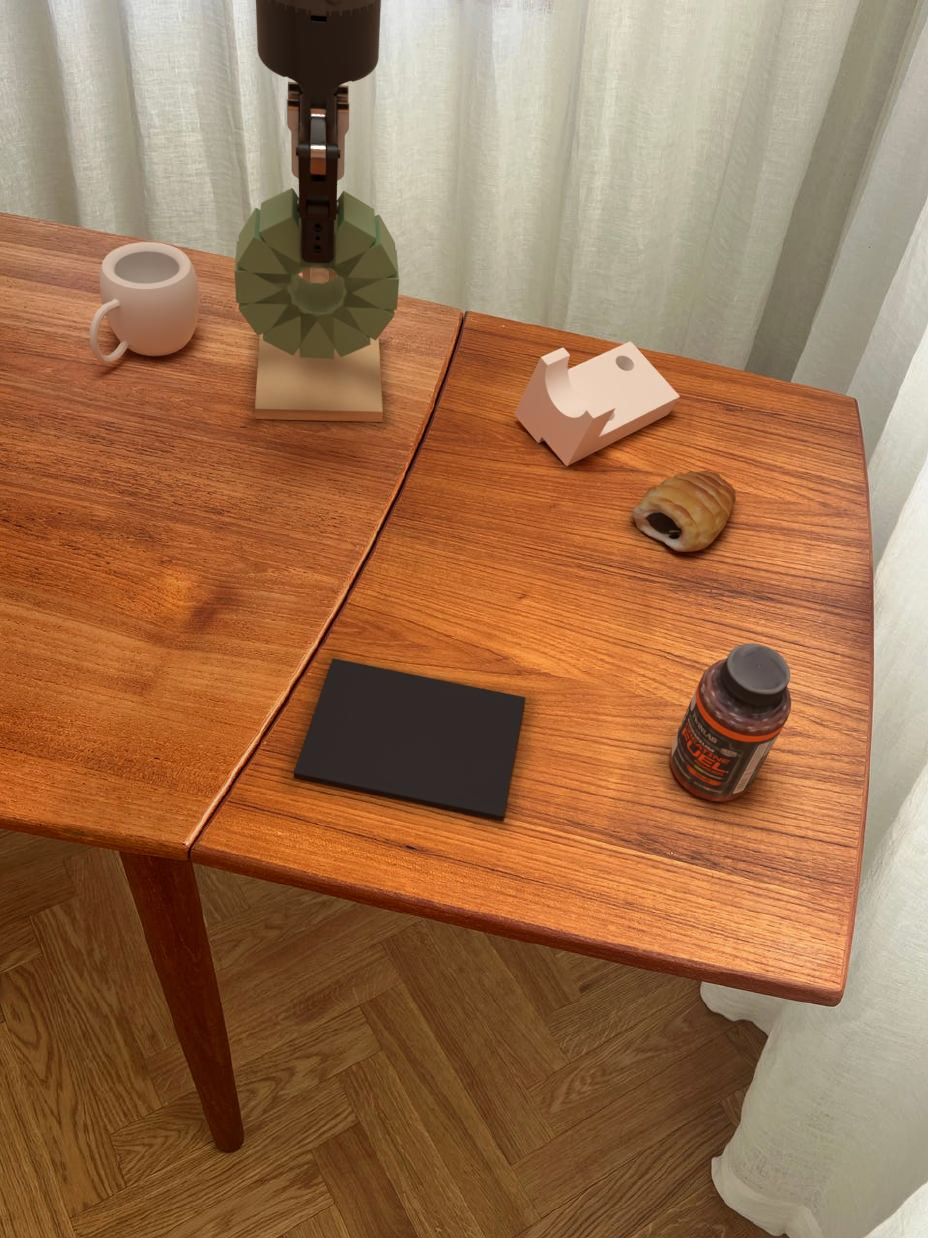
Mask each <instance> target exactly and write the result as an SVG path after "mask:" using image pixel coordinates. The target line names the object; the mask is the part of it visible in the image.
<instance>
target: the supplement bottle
mask: <svg viewBox="0 0 928 1238" xmlns="http://www.w3.org/2000/svg"><path fill="white" fill-rule="evenodd" d="M790 680H791V669H790V667H789V664H788V663H787V661H786V659H785V658H784V657H783V656H782V655H781V654H780V653H779V652H777V651H776V650H775V649H773V648H771V647H769V646H768V645H767V646H766V645H764V644H760V643H751V642H749V643H743V644H740V645H739V644H738V645H737V646H736V647H734V648H733V649H732V650H730V652H729V653H728V655H727V657H726V658H723V659H720V660H718V661H715V662H714V663H712V664H711V665H710V666H709V667H708V668H707V669H706V670H705V671H704V672H703V674H702V676H701V678H700V679H699V681H698V684H697V686H696V689H695V690H694V693H693V695H692V698H691V700H690V702H689V705H688V707H687V709H686V712H685V713H684V716H683V719H682V721H681V723H680V726H679V728H678V729H677V732H676V735H675V737H674V739H673V742H672V744H671V748H670V752H669V766H670V768H671V770H672V773H673V775H674V777H675V779H676V780H677V781H678V783H679V784H680V785H681V786H682V787H683V788H684V789H686V791H688V792H689V793H691V794H693V795H694V796H695V797H698V798H700V799H704V800H707V801H711V802H717V803H718V802H719V803H720V802H729V801H732V800H735V799H737V798H739V797H741V796H743V795H744V794H745V793H746V792H747V791H748V790H749V789H750V787H751V786H752V784H753V783H754V781H755V779H756V777H757V775H758V774H759V773H760V770H761V768H762V766H763V764H764V763H765V761H766V759H767V757H768V756H769V754H770V752H771V751H772V748H773V745H775V743H776V741H777V739H778V737H779V736H780V733H781V731H782V730H783V728H784V726H785V724H786V722H787V721H788V718H789V716H790V713H791V710H792V696H791V691H790V690H789V688H788V686H789V683H790Z"/></svg>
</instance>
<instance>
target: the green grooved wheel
mask: <svg viewBox="0 0 928 1238" xmlns="http://www.w3.org/2000/svg"><path fill="white" fill-rule="evenodd" d="M297 199H299V195H298V194H297V192H296V191H295V189H294V188H293V187H290V188H289V189H287V190H285V191H283V192H280V193H278V194H276V195H275V196H272V197H271V198H268V199H267V200H264V201H262V202H260V208H258V207H255V208H254V209H253V211H252V213H251V214H250V216H249V218H248V219H247V221H246V223H245V225H244V226H243V227H242V229H241V231H240V232H239V234H238V240H237V241H236V249H235V250H236V252H235V262H234V287H235V303H236V304H238V310H239V311H240V313H241V315H242V316H243V318H244V319H245V320H246V322H247V323H248V324H249V326H250V328H251V329H252V330H253V331H254V333H255V334H256V335H257V336H260V334H263V341H265V342H267V343H269V344H271V345H273V346H275V347H277V348H279V349H281V350H283V351H285V352H287V353H289V354H291V355H294V354H295V352H296V351H297V350H298V348H299V347H300V357H303V358H329V359H334V348H335V350H336V351H337V353H338V354H339V356H340V357H343V356H345V355H348V354H350V353H352V352H355V351H357V350H359V349H361V348H364V347H366V346H368V345H370V344H371V341H370V338H372V339H374V340H377V338H378V337H379V338H380V336H381V335H382V333H383V332H384V330H386V328H387V327H388V325H389V324H390V322H391V321H392V320H393V319H394V318H395V311H397V310H398V304H399V303H398V302H399V290H400V289H399V288H400V273H399V272H400V271H399V265H398V264H399V261H398V251H397V249H396V242H395V240H394V238H393V237H392V235H391V233H390V231H389V229H388V227H387V225H386V224H385V221H384V220H383V219H382V217H381V214H377V215H375V208H373V207H371V206H370V205H368V204H367V203H365V202H363V201H361V200H360V199H358V198H357V197H355V196H353V195H352V194H350V193H349V192H346V191H345V190H343V191H342V192H341V194H340V195H339V196H338V197H337V201H338V206H339V214H337V216H336V220H334V258H333V260H332V261H331V262H330V263H311V262H306V261H304V260H303V259H302V238H301V218H299V212H297ZM309 268H321V269H326V270H328V271H330V272H332V273H333V274H335V275H337V276H336V278H334V279H332V280H330V281H328V282H325V283H311V282H309V281H307V280H305V279H303V278H302V277H301V276H300V275H299V274H302V272H303V271H305V270H307V269H309Z"/></svg>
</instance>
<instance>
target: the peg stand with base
mask: <svg viewBox="0 0 928 1238" xmlns="http://www.w3.org/2000/svg"><path fill="white" fill-rule="evenodd" d="M301 275H302V278H303V279H305V280H307V281H309V282H311V283H325V282H328V281H330V280H332V279H334V278H336V276H337V275H335V274H333V273H332V272H330V271H328V270H326V269H321V268H309V269H307V270H305V271H303V272H301ZM258 338H259V340H258V355H257V368H256V369H257V371H256V384H255V385H256V387H255V401H254V417H255V420H275V421H276V420H281V421H317V422H319V421H324V422H366V423H367V422H368V423H383V419H384V418H383V416H384V415H383V414H384V409H383V408H384V407H383V389H382V371H381V369H382V368H381V352H380V336H379V337H378V338H377V340H374V339H372V338H370V341H371V344H370V345H368V346H366V347H364V348H361V349H359V350H357V351H355V352H352V353H350V354H348V355H345V356H343V357H340V356H339V354H338V353H337V351H336V350H335V348H334V359H329V358H303V357H300V347H299V348H298V350H297V351H296V352H295V354H294V355H291V354H289V353H287V352H285V351H283V350H281V349H279V348H277V347H275V346H273V345H271V344H269V343H267V342H265V341H263V334H260V335H259V337H258Z"/></svg>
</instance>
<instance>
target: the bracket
mask: <svg viewBox="0 0 928 1238" xmlns="http://www.w3.org/2000/svg"><path fill="white" fill-rule="evenodd" d="M570 357H571V355H570V353H569V352H568V350H566V349H565V347H561V348H558V349H556V350H554V351H551V352H549V353H547V354H545V355H543V356H540V358H539V359H538V362H537V364H536V365H535V366H536V367H535V368H534V370H533V373H532V375H531V377H530V379H529V381H528V383H527V386H526V388H525V390H524V392H523V393H522V397H521V399H520V401H519V403H518V405H517V406H516V409H515V411H514V413H513V415H514V417H515V418H516V419H517V420H518V421H519V422H520V424H521V425H522V426H523V427H524V428H525V430H526V431H527V432H528V433H529V435H531V437H532V438H533V439H534V440H535V442H536V443H537V444H540V443H542V442H545V443H546V444H547V445H548V447H550V448H551V450H552V451H553V452H554V454H555V455H556V456H557V457H558V458H559V459H560V461H561V462H562V463H563V464H564V465H565V467H568V466H570V465H572V464H575V463H576V462H578V461H581V460H582V459H584V458H587V457H588V456H590V455H593V454H594V453H596V452H598V451H599V450H602V449H604V448H605V447H608V446H610V445H611V444H613V443H615V442H617V441H620V440H621V439H623V438H626V437H628V436H629V435H631V434H633V433H635V432H637V431H639V430H641V429H643V428H645V427H647V426H649V425H651V424H653V423H655V422H657V421H658V420H661V419H662V418H664V417H667V416H668V415H669V414H670V412H671V411H672V410H673V408H674V406H675V405H676V404H677V402H678V401H679V399H680V398H681V396H680V394H679V393H678V392H677V391H676V390H675V389H674V388H673V387H672V386H671V384H669V382H668V381H667V380H666V379H665V377H663V376H662V374H661V373H660V372H659V371H658V370H657V369H656V367H654V365H653V364H652V363H651V361H649V360H648V359H647V358H646V356H644V354H643V353H642V352H641V351H640V350H639V349H638V347H636V345H635V344H634V343H633V342H632V341H631V340H629V341H628V342H626V343H623V344H621V345H619V346H617V347H614V348H612V349H610V350H608V351H606V352H603V353H601V354H599V355H597V356H594V357H592V358H591V359H588V360H585V361H584V362H582V363H579V364H576V365H574V366H573V367H572V366H571V368H569V361H570Z"/></svg>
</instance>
